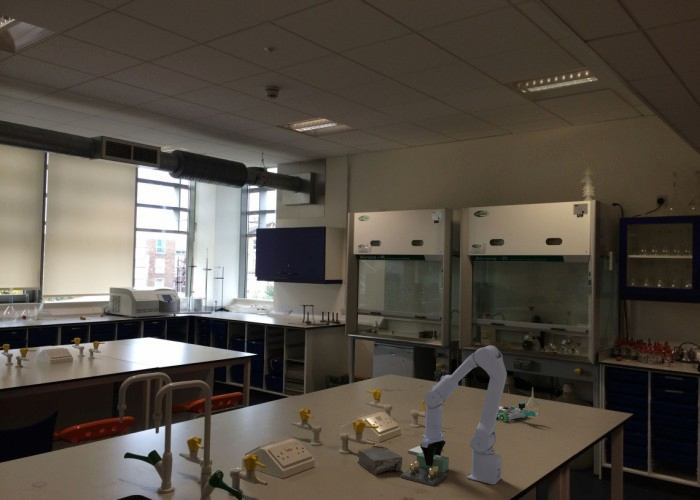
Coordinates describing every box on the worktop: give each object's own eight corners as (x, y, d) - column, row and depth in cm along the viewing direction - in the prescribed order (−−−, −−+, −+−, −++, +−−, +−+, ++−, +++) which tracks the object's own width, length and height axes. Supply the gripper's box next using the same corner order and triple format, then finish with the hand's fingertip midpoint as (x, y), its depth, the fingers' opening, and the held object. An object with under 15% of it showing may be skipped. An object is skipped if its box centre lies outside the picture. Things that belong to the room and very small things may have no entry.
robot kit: (526, 429, 257) (526, 408, 257) (482, 417, 277) (483, 397, 277) (550, 424, 268) (551, 404, 268) (507, 412, 288) (507, 394, 288)
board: (448, 468, 201) (448, 455, 201) (442, 472, 196) (442, 459, 197) (422, 462, 206) (423, 450, 206) (416, 466, 202) (416, 453, 202)
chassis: (446, 477, 192) (446, 465, 192) (433, 485, 184) (433, 473, 184) (414, 469, 198) (414, 457, 199) (400, 477, 190) (401, 465, 190)
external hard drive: (407, 454, 217) (424, 447, 227) (425, 459, 212) (442, 451, 221) (407, 449, 217) (424, 442, 227) (426, 454, 212) (443, 447, 221)
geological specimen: (376, 461, 191) (355, 446, 205) (375, 479, 191) (354, 463, 205) (403, 456, 196) (381, 442, 209) (402, 474, 196) (380, 458, 210)
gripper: (432, 418, 210) (431, 455, 210) (414, 426, 198) (412, 466, 197) (449, 421, 206) (448, 459, 206) (432, 430, 194) (431, 470, 194)
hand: (432, 463), depth 201 cm, fingers closed on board, 5 cm apart
